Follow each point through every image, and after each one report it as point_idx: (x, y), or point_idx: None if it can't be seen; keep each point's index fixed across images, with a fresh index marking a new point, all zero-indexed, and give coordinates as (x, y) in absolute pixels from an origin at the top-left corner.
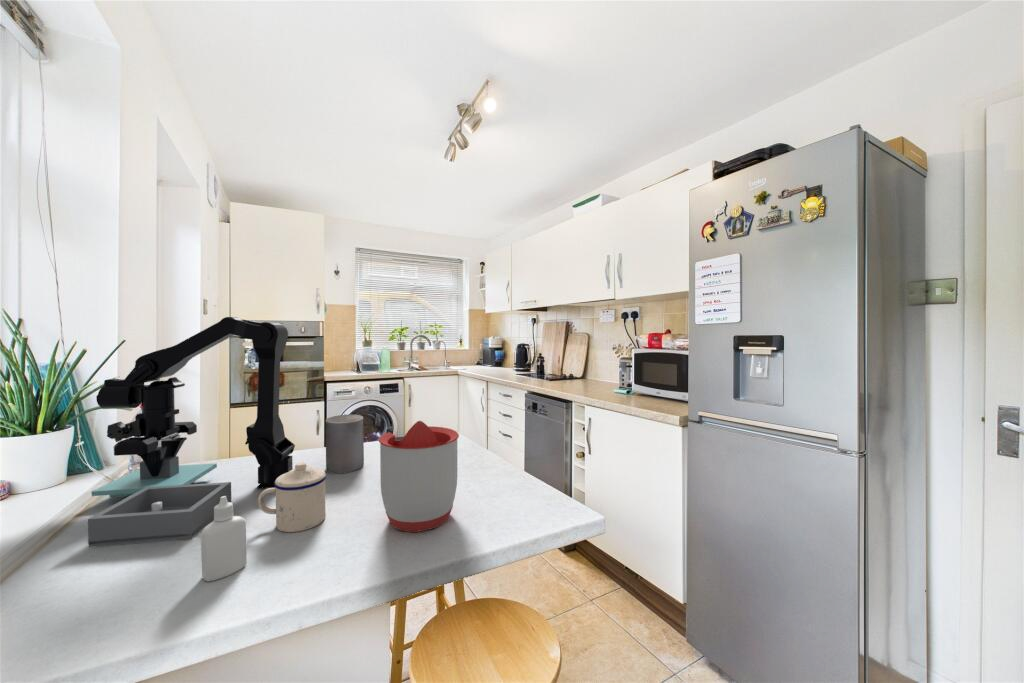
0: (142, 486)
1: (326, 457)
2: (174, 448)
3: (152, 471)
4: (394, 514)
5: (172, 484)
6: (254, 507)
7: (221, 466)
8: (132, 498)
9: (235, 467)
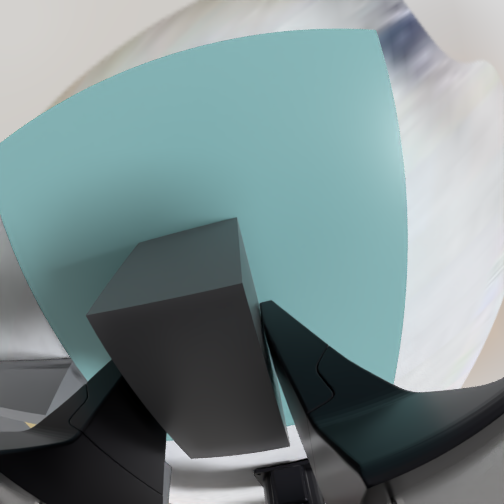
0: (78, 342)
1: None
2: (317, 480)
3: None
4: None
5: None
6: (174, 483)
7: (474, 276)
8: (10, 417)
9: (450, 331)
